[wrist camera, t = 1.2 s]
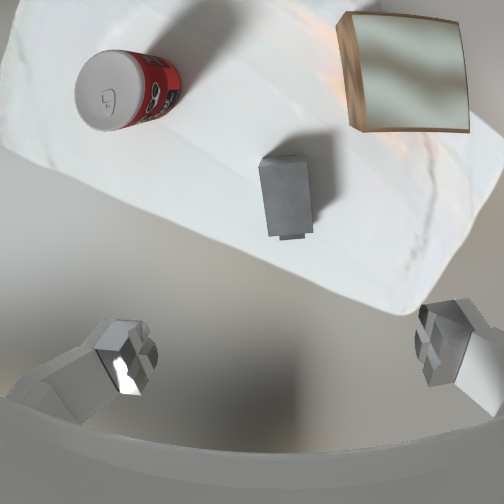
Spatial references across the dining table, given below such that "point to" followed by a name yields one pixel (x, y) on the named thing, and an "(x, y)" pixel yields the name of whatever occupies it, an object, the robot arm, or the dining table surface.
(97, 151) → the dining table surface
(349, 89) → the stand
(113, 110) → the canned food
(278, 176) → the block
